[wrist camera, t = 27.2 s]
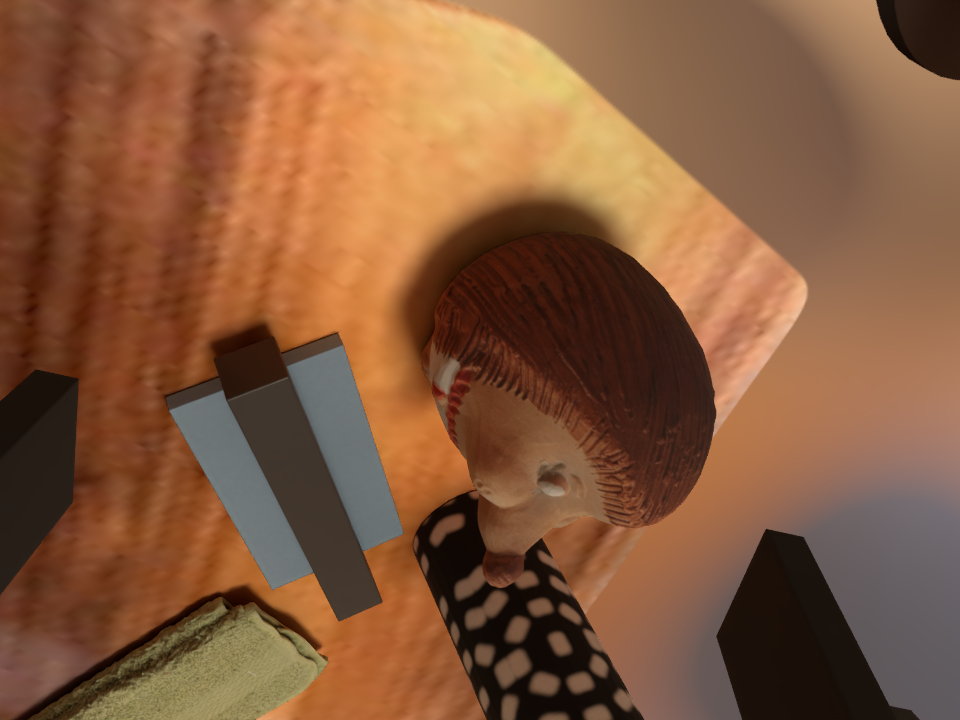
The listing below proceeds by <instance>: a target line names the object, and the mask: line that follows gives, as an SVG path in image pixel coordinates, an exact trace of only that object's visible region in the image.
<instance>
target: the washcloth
mask: <svg viewBox="0 0 960 720" xmlns="http://www.w3.org/2000/svg"><path fill="white" fill-rule="evenodd" d="M327 663H328V657H326V656H324V655H321V654H319V653H318V652H317V651H316V649H314V648H313V647H312V646H311V645H310V644H309V643H308V642H307V641H306V640H305V639H304V638H303V637H301V636H300V635H299V634H297V633H295V632H294V631H292V630H291V629H290V628H287V627H285V626H284V625H283V624H281V623H280V622H279V621H278V620H276V619H275V618H273V617H272V616H270V615H268V614H267V613H266V612H263V611H262V610H261V609H260V608H259V607H258V606H257V605H256V604H255V603H254V602H250V603H248V604H246V605H245V606H242V605H237V606H236V607H233V606H232V605H231V604H230V603H229V602H228V601H227V600H225V599H224V598H223V597H218V598H216V599H214V600H213V601H212V602H210V601H209V602H207V603H206V604H204V605H203V606H202V607H200V608H199V609H198V610H196V611H194V612H192V613H191V614H190V615H189V616H188V617H184V619H182V620H181V621H180V622H178V623H177V624H176V625H174V626H169V627H168V628H167V627H166V628H165V629H163V630H161V632H160V633H159V634H158V635H157V636H156V637H155V638H153V639H152V640H151V641H149V642H147V643H145V644H144V645H143V646H141V647H139V648H137V649H136V650H133V651H131V652H130V653H129V654H127V655H126V656H125V657H124V658H123V659H120V661H118V662H114V663H113V664H112V665H111V666H110V667H106V669H105V670H103V671H102V672H99V673H97V674H96V675H95V676H94V677H93V678H92V679H91V680H88V681H84V682H83V683H82V684H80V685H79V686H78V687H76V688H75V689H73V691H72V692H71V693H69V694H65V695H64V696H63V697H61V698H60V699H59V700H58V701H56V702H53V703H52V704H50V705H48V707H46V708H45V709H43V710H42V711H41V712H40V713H38V714H35V715H33V716H32V717H30V718H29V719H27V720H255V719H257V718H259V717H261V716H262V715H264V714H266V713H268V712H269V711H271V710H273V709H275V708H277V707H279V706H280V705H282V704H283V703H285V702H287V701H289V700H291V699H292V698H294V697H295V696H297V695H298V694H300V693H301V692H303V691H304V690H305V689H306V688H307V687H308V686H309V685H310V684H311V683H312V681H313V680H315V679H316V677H317V676H318V675H319V674H321V672H322V671H323V670H324V668H325V667H326V665H327Z"/></svg>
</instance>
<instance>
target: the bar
mask: <svg viewBox="0 0 960 720" xmlns="http://www.w3.org/2000/svg"><path fill="white" fill-rule="evenodd" d="M214 362H215V365H216V368H217V372H218V375H219V378H220V381H221V385H222V388H223V391H224V395H225V398H226V401H227V403H228V405H229V407H230V409H231V411H232V413H233V415H234V417H235V419H236V421H237V423H238V425H239V426H240V428H241V430H242V432H243V434H244V436H245V438H246V440H247V442H248V444H249V446H250V448H251V450H252V452H253V454H254V456H255V458H256V460H257V462H258V464H259V466H260V468H261V470H262V472H263V474H264V476H265V478H266V480H267V482H268V483H269V485H270V487H271V489H272V491H273V493H274V495H275V497H276V499H277V501H278V503H279V505H280V507H281V509H282V511H283V513H284V515H285V517H286V519H287V521H288V523H289V525H290V527H291V529H292V531H293V533H294V535H295V537H296V539H297V540H298V542H299V544H300V546H301V548H302V550H303V552H304V554H305V556H306V558H307V560H308V562H309V564H310V566H311V568H312V570H313V572H314V574H315V576H316V578H317V580H318V582H319V584H320V586H321V588H322V590H323V592H324V594H325V596H326V597H327V599H328V601H329V603H330V605H331V607H332V609H333V611H334V613H335V615H336V617H337V619H338V621H342V620H344V619H346V618H348V617H351V616H353V615H355V614H357V613H360V612H362V611H364V610H366V609H369V608H371V607H373V606H375V605H378V604H380V603H382V599H381V596H380V593H379V591H378V588H377V586H376V583H375V581H374V578H373V575H372V573H371V570H370V568H369V565H368V563H367V560H366V558H365V556H364V553H363V551H362V548H361V546H360V543H359V541H358V539H357V536H356V534H355V531H354V529H353V526H352V524H351V522H350V519H349V517H348V514H347V512H346V509H345V507H344V505H343V502H342V500H341V497H340V495H339V492H338V490H337V488H336V485H335V483H334V480H333V478H332V475H331V473H330V471H329V468H328V466H327V463H326V461H325V458H324V456H323V454H322V451H321V449H320V446H319V444H318V442H317V439H316V437H315V434H314V432H313V429H312V427H311V425H310V422H309V420H308V417H307V415H306V412H305V410H304V408H303V405H302V403H301V400H300V398H299V395H298V393H297V391H296V388H295V386H294V383H293V381H292V378H291V376H290V374H289V371H288V369H287V366H286V364H285V361H284V359H283V357H282V354H281V352H280V349H279V347H278V344H277V342H276V340H275V338H274V337H270V338H267V339H265V340H262V341H259V342H257V343H254V344H251V345H249V346H246V347H243V348H241V349H238V350H235V351H233V352H230V353H227V354H224V355H222V356H219V357H216V358H215V359H214Z"/></svg>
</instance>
